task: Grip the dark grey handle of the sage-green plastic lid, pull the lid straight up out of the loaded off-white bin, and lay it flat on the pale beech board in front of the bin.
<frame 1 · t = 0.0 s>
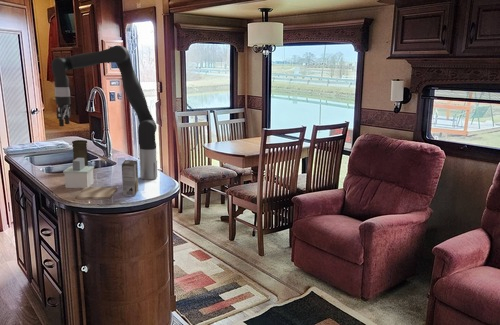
hand: (64, 125, 231), 29 cm above the countertop, tool pointing down, fingers open, 8 cm apart
container: (81, 170, 252), on the countertop
lid: (79, 170, 220), point 8 cm above the countertop, touching bin
bin: (80, 185, 222), on the countertop
coffee box: (130, 193, 212), on the countertop
board: (97, 193, 209), on the countertop
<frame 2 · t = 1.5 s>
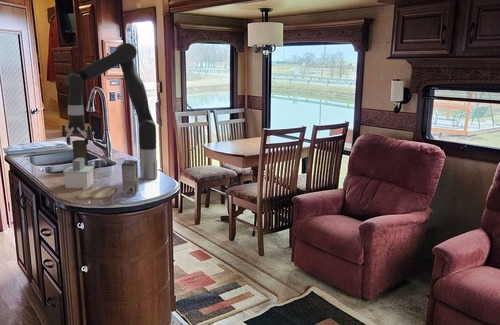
hand: (77, 145, 217), 22 cm above the countertop, tool pointing down, fingers open, 8 cm apart
nothing on the countertop moved.
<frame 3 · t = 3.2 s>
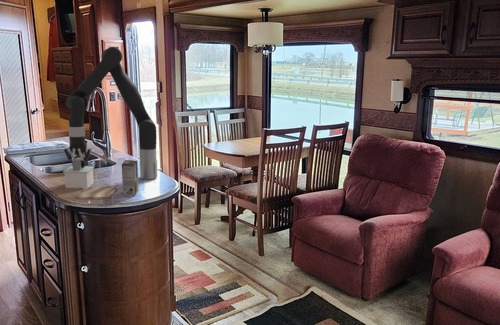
hand: (78, 167, 220), 10 cm above the countertop, tool pointing down, fingers closed on lid, 3 cm apart
lid: (79, 170, 220), point 8 cm above the countertop, touching bin, gripper
everything else where it was.
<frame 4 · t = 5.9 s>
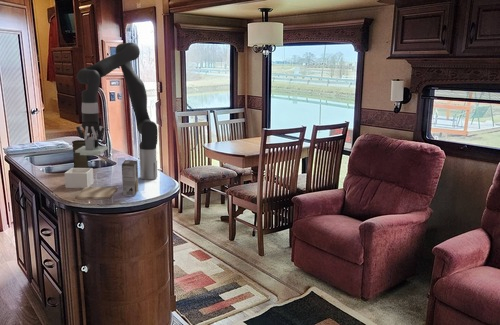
hand: (91, 147, 205), 23 cm above the countertop, tool pointing down, fingers closed on lid, 3 cm apart
lid: (92, 150, 205), point 22 cm above the countertop, touching gripper
everything else where it was.
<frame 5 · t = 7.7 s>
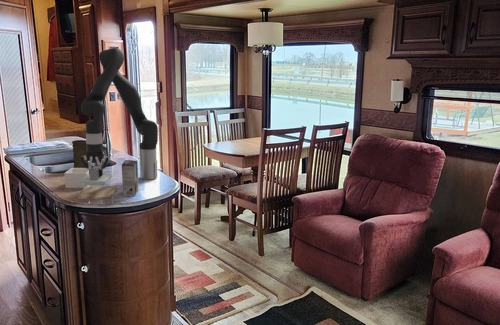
hand: (96, 176, 207), 9 cm above the countertop, tool pointing down, fingers closed on lid, 3 cm apart
lid: (96, 179, 207), point 7 cm above the countertop, touching gripper
everything else where it was.
when the fingers open (6 cm above the countertop, at t = 9.0 s): lid drops 1 cm, resting on board.
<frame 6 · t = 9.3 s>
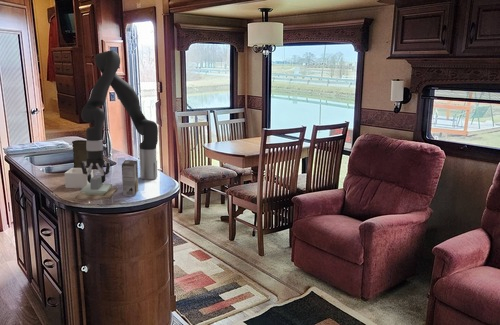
hand: (96, 182, 207), 6 cm above the countertop, tool pointing down, fingers open, 5 cm apart
lid: (96, 189, 208), point 2 cm above the countertop, touching board
everything else where it was.
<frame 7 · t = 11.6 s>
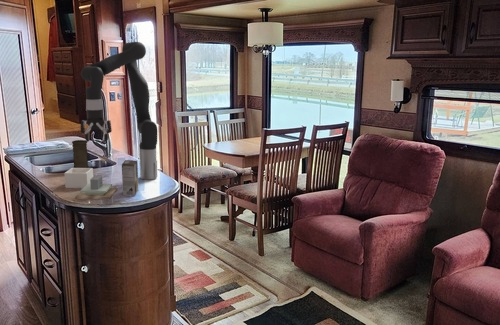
hand: (97, 141, 208), 26 cm above the countertop, tool pointing down, fingers open, 8 cm apart
nothing on the countertop moved.
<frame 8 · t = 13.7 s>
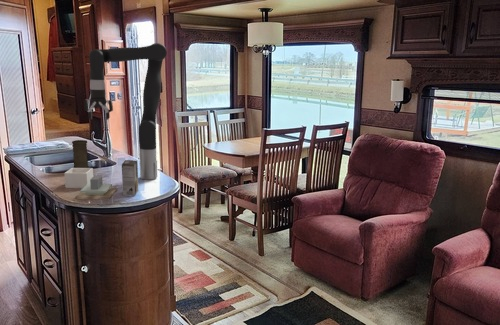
hand: (99, 119, 224), 34 cm above the countertop, tool pointing down, fingers open, 8 cm apart
nothing on the countertop moved.
at the end: lid inside the target area on the board (0.0 cm from its centre), point 2.5 cm above the board's base; lid tilted 0°; lid touching board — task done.
